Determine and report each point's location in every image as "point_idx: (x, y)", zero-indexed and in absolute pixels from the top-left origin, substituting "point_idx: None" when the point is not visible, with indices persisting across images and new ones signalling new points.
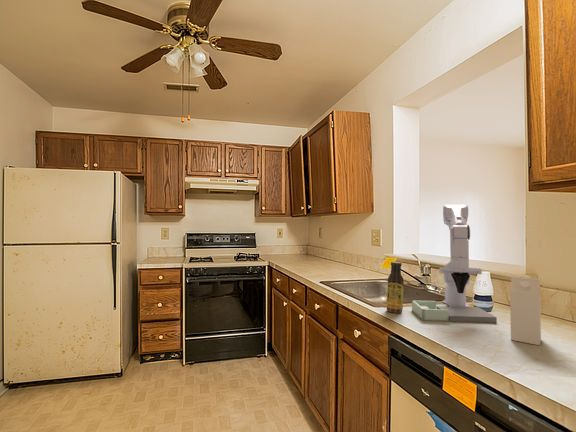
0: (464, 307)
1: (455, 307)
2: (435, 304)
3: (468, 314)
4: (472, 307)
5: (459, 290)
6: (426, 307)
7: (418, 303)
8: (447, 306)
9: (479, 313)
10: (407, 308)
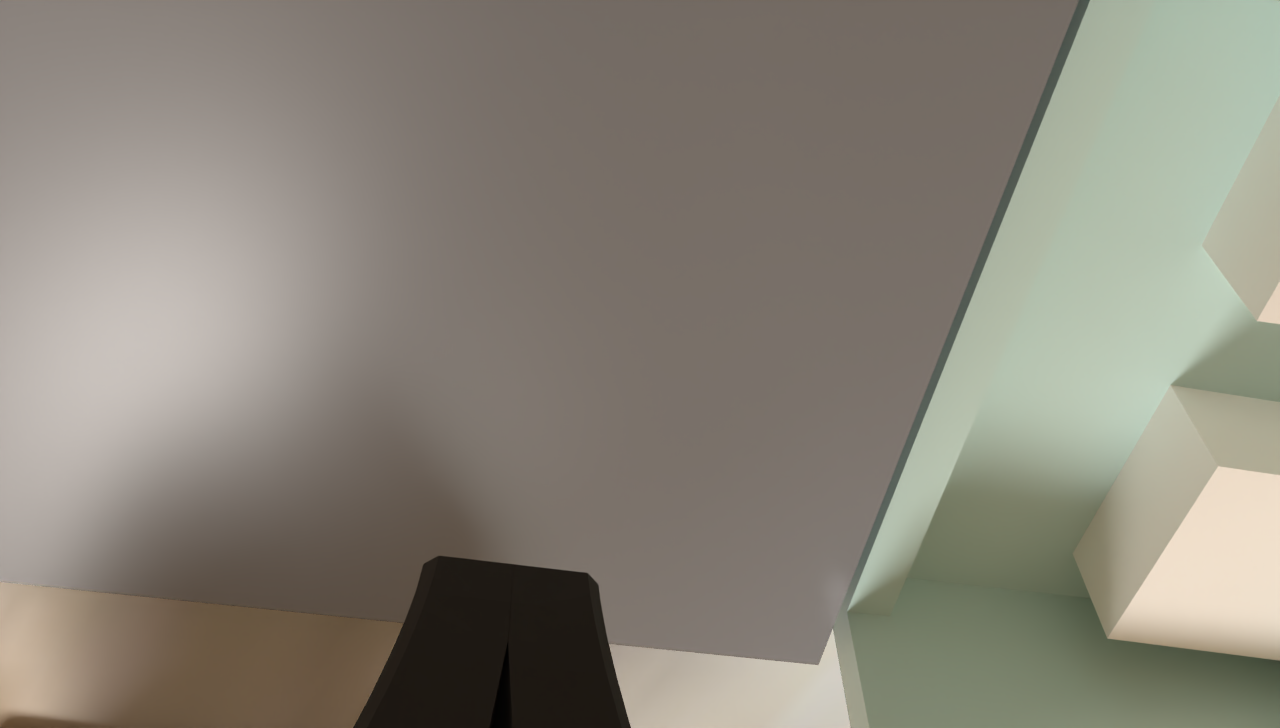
0: (219, 564)
1: None
2: (875, 675)
3: None
4: (20, 558)
5: (613, 666)
6: (1212, 538)
7: (1243, 722)
8: None
9: (34, 67)
10: None
